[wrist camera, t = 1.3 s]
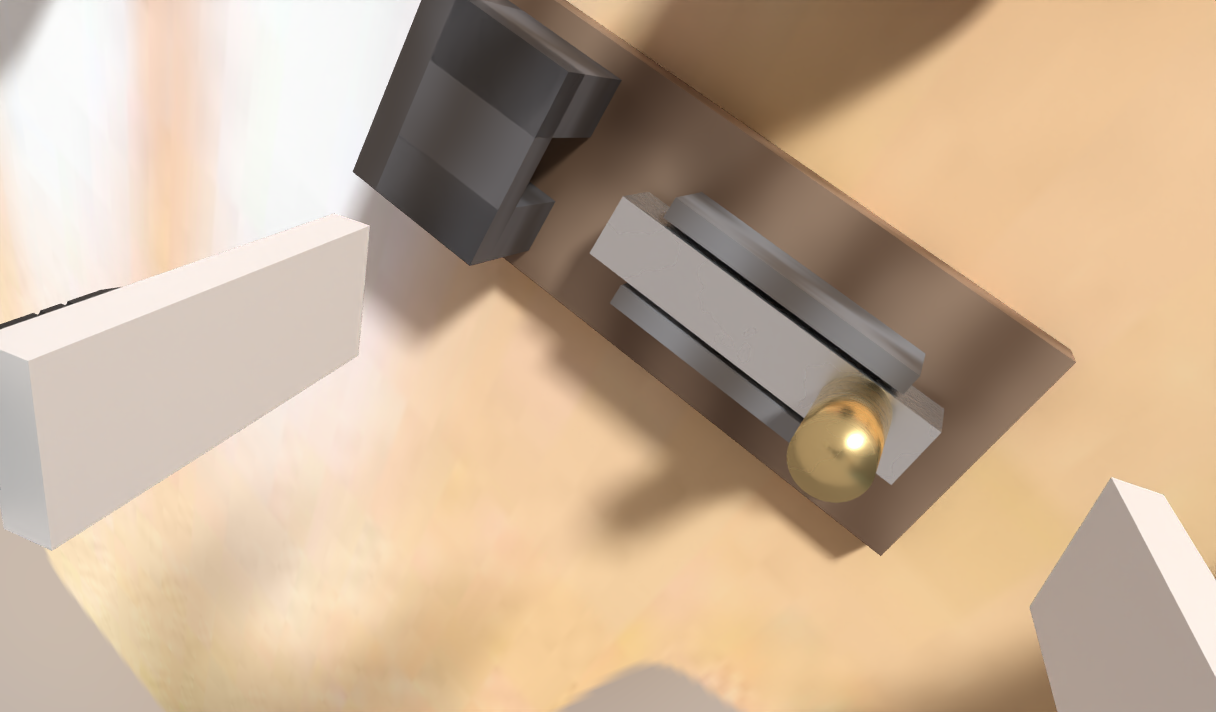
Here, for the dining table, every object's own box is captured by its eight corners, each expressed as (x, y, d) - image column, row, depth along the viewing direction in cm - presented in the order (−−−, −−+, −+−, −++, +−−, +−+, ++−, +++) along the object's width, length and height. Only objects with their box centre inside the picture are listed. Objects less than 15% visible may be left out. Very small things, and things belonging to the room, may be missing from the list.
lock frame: (1070, 350, 33) (1093, 402, 26) (885, 536, 38) (866, 617, 32) (532, -23, 38) (443, -55, 32) (436, 184, 44) (344, 193, 37)
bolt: (944, 408, 33) (934, 488, 25) (898, 458, 34) (875, 548, 27) (649, 191, 36) (562, 206, 29) (616, 244, 37) (526, 272, 30)
